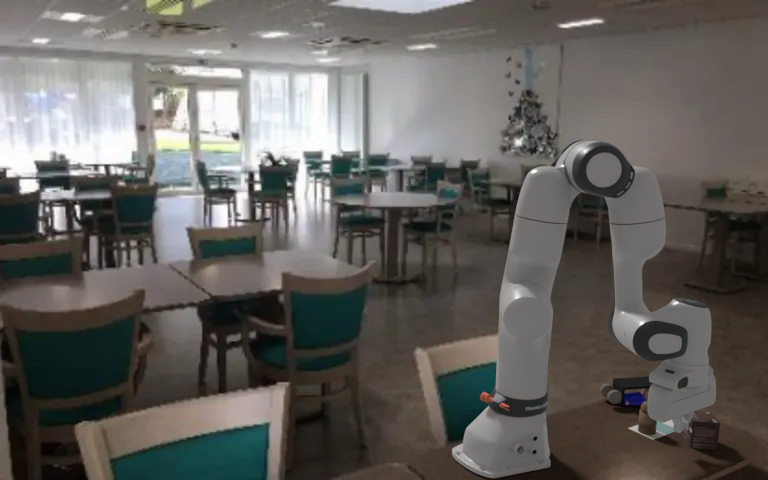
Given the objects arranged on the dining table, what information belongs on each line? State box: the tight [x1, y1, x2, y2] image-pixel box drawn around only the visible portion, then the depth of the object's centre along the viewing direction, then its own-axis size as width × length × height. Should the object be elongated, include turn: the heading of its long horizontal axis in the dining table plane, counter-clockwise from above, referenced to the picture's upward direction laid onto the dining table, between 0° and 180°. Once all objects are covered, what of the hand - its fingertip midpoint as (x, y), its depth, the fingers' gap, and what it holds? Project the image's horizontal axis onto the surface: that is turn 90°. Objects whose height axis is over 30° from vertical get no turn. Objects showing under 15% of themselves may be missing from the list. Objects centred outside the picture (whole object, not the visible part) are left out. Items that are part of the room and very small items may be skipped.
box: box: [682, 410, 721, 450], centre depth 153 cm, size 6×6×7 cm
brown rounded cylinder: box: [637, 401, 657, 435], centre depth 158 cm, size 4×4×8 cm
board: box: [627, 420, 676, 440], centre depth 163 cm, size 20×7×1 cm, turn 123°
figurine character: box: [598, 375, 653, 407], centre depth 175 cm, size 7×8×15 cm
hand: (680, 430), depth 148 cm, fingers closed
